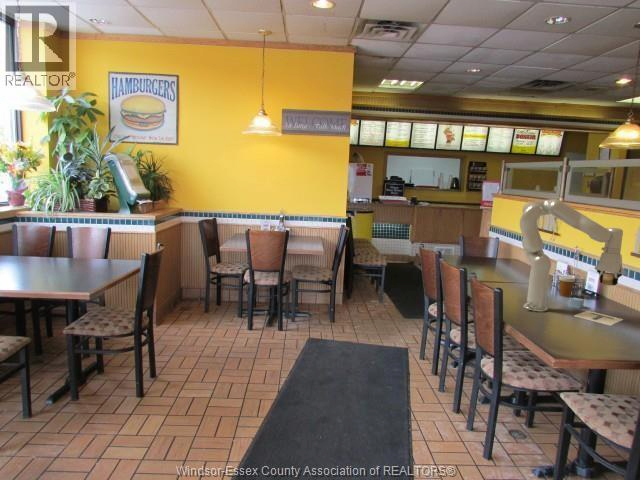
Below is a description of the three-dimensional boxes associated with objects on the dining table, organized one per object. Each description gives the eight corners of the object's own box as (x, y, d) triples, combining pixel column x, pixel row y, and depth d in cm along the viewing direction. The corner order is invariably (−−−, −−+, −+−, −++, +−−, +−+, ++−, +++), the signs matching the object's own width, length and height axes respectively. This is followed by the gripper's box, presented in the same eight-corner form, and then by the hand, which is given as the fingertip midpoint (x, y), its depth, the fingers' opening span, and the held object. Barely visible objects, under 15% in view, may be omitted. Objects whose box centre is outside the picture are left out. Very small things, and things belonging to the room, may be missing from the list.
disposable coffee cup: (567, 298, 280) (569, 279, 278) (553, 294, 289) (555, 276, 287) (576, 296, 285) (579, 278, 283) (562, 292, 293) (565, 274, 291)
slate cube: (579, 309, 257) (580, 300, 256) (569, 307, 261) (571, 298, 260) (582, 308, 260) (583, 299, 260) (573, 305, 264) (574, 297, 263)
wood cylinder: (611, 285, 241) (613, 275, 240) (600, 283, 246) (601, 272, 245) (616, 284, 244) (617, 273, 243) (604, 282, 249) (606, 271, 248)
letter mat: (610, 326, 228) (610, 325, 228) (573, 316, 242) (573, 315, 242) (623, 320, 239) (623, 319, 239) (587, 311, 253) (587, 310, 253)
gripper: (591, 249, 247) (588, 281, 250) (627, 254, 233) (623, 288, 236) (598, 248, 251) (594, 279, 254) (633, 252, 238) (628, 286, 240)
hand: (608, 283), depth 245 cm, fingers closed on wood cylinder, 5 cm apart
